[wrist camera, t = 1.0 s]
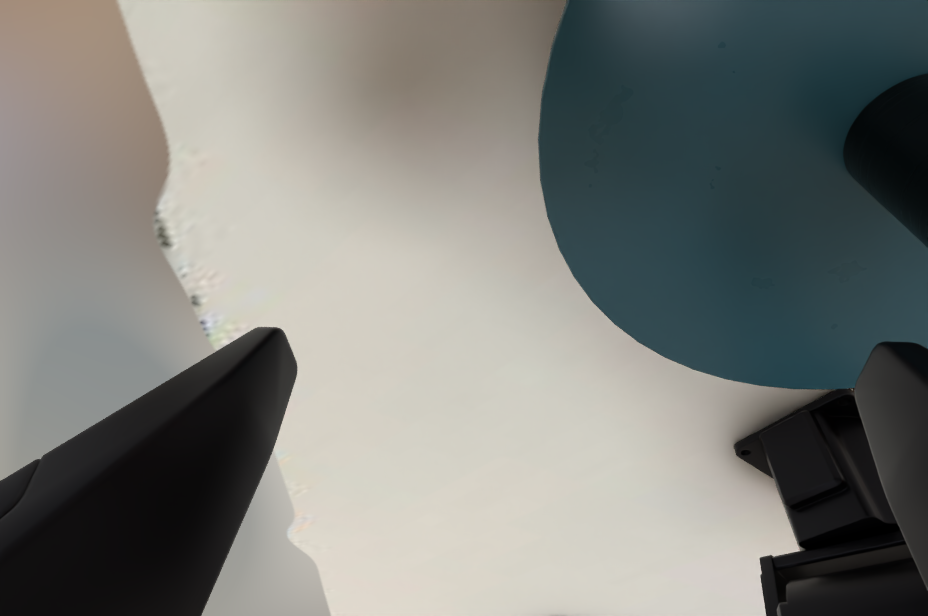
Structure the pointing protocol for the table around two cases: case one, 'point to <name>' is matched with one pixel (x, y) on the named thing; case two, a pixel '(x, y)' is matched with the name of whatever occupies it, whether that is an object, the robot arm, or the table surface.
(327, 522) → the table surface
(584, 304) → the table surface
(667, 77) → the pot lid
